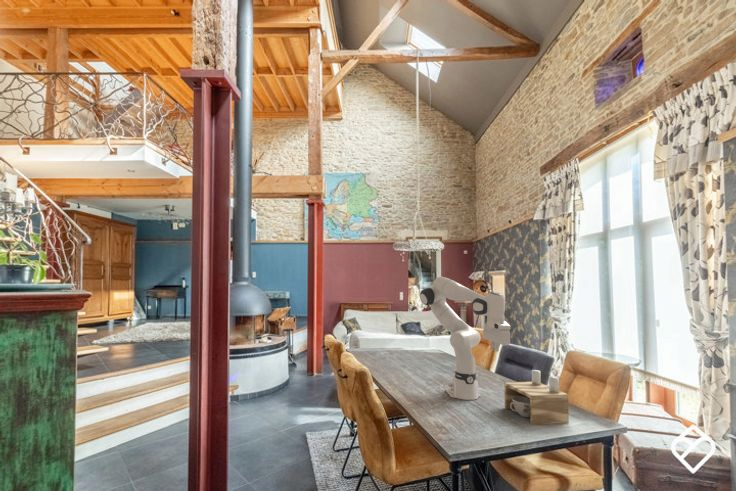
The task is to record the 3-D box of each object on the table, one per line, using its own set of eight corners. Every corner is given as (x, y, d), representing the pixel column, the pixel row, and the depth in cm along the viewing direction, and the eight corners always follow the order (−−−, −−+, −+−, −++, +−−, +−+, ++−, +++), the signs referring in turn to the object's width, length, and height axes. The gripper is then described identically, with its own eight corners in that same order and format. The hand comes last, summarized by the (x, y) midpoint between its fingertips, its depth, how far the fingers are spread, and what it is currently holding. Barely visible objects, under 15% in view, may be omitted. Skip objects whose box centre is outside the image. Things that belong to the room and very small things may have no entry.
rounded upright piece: (530, 383, 207) (529, 369, 208) (537, 382, 208) (537, 369, 209) (535, 385, 203) (535, 371, 204) (542, 385, 204) (542, 371, 204)
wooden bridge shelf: (504, 408, 206) (504, 382, 207) (537, 406, 210) (536, 381, 211) (532, 424, 182) (532, 395, 184) (568, 422, 187) (568, 394, 188)
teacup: (529, 410, 203) (529, 395, 203) (544, 419, 190) (544, 402, 191) (503, 411, 200) (503, 396, 201) (517, 420, 188) (517, 403, 188)
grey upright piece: (547, 390, 194) (547, 376, 194) (554, 390, 194) (554, 376, 195) (553, 393, 189) (552, 378, 190) (560, 392, 190) (560, 378, 191)
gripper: (480, 321, 206) (479, 347, 205) (501, 326, 186) (500, 355, 185) (490, 321, 208) (490, 347, 206) (512, 326, 188) (512, 355, 187)
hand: (495, 351), depth 196 cm, fingers closed
